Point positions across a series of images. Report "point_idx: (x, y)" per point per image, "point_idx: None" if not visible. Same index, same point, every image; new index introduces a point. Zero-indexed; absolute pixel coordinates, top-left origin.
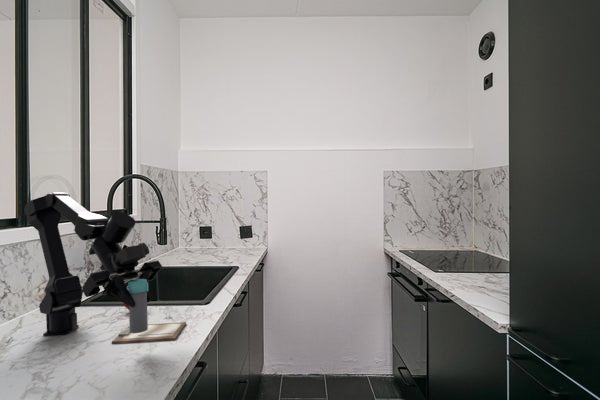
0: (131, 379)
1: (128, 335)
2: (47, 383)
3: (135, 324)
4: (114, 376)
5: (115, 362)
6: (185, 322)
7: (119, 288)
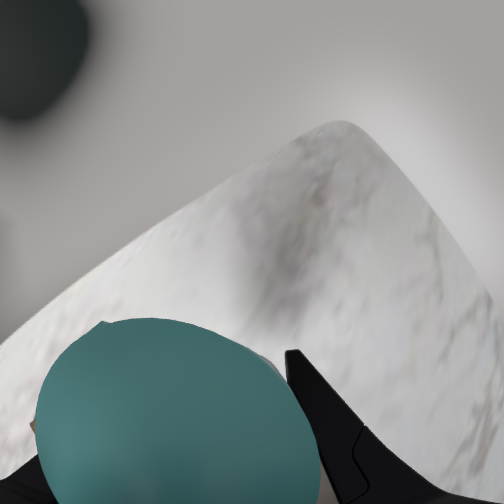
0: (368, 219)
1: None
2: (490, 381)
3: (275, 367)
4: (390, 274)
5: (346, 369)
6: (31, 423)
7: (422, 479)
